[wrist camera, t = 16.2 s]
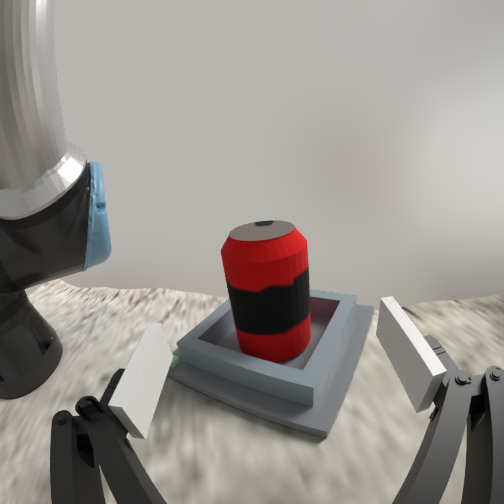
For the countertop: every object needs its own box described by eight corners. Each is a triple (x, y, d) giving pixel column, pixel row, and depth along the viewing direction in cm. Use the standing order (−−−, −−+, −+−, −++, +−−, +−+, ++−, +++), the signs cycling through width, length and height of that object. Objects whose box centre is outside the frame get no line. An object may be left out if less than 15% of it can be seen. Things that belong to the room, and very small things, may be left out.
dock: (160, 371, 26) (149, 347, 25) (248, 294, 40) (245, 272, 39) (326, 437, 17) (330, 414, 15) (373, 313, 31) (375, 288, 29)
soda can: (308, 317, 31) (303, 215, 27) (312, 362, 24) (309, 240, 20) (244, 320, 32) (227, 222, 28) (233, 365, 25) (208, 249, 21)
